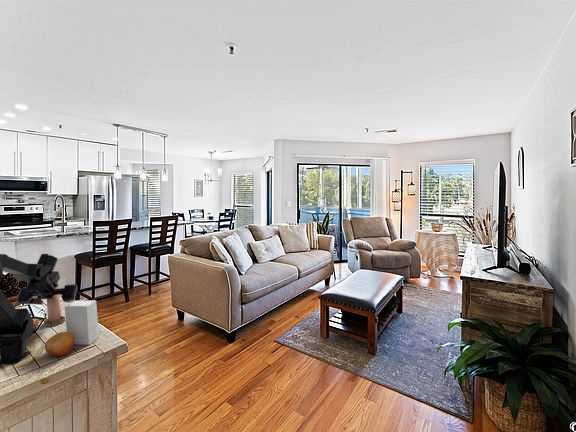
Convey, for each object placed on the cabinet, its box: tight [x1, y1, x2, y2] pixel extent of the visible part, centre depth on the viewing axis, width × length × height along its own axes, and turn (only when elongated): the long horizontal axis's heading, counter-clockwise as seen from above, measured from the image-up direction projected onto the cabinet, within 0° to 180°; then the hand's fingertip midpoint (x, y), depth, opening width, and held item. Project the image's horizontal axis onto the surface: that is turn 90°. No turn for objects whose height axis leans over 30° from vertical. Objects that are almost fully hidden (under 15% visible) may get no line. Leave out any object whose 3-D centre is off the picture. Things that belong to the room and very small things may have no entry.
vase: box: [46, 287, 62, 323], centre depth 122 cm, size 4×4×14 cm
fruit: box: [44, 331, 74, 357], centre depth 101 cm, size 8×8×8 cm
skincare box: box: [64, 299, 100, 346], centre depth 108 cm, size 8×6×15 cm
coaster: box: [43, 315, 66, 327], centre depth 123 cm, size 7×7×1 cm
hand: (55, 302), depth 123 cm, fingers open, 9 cm apart
